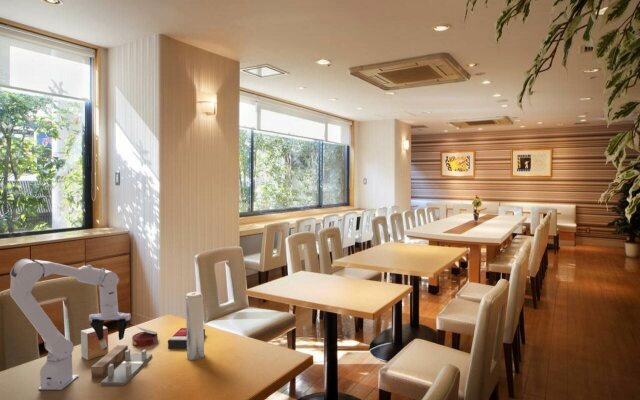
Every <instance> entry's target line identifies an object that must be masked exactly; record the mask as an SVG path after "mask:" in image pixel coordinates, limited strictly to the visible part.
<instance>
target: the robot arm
mask: <svg viewBox="0 0 640 400" xmlns="http://www.w3.org/2000/svg"><path fill="white" fill-rule="evenodd" d="M50 275H59V276H67V277H71V278H75V279H76V281H77V282H78V283H83V284H88V285H93V286H98V290H99V306H100V313H90V314H89V315H88V321H89V322H90V324H89V325H90V326H91V328H93V329H94V330H95V332H96V334H97V337H98V339H99V340H101V339H103V336H104V334H103V326H104V322H105V321H117V322H116V323H115V325H116V329H117V331H118V339H119V341H121V340H123V339H124V336H125V332H126V328H127V325H128V323H129V321H130V320H131V313H129V312H128V313H125V312H119V302H118V289H117V286H118V284H119V282H120V277H118V274H116V273H115V272H114V271H112V270H109V269H108V270H107V269H106V268H104V267H101V268H97V267H93V265H91V264H87V265H82V266H80V267H75V266H70V265H66V264H61V263H57V262H52V261H47V260H41V259H40V260H39V259H33V260H32V259H30V258H22V259H20V260H17V261H16V262H15V263H14V265H13V267H12V268H11V270H10V272H9V277H10V286H9V296H10V297H11V298H12V300H13V301H14V302H15V304H16V305H17V307H18V308H19V309H20V310H21V312H22V313H23V314H24V315H25V317H26V318H27V320H28V321H29V322H30V324H31V325H32V326H33V327H34V329H35V330H36V331H37V333H38V334H39V335H40V337H41V338H42V340H43V342H44V348H45V350H46V351H47V352H48V353H47V355H46V361H45V364H43V366H42V367H41V368H40V371H39V377H40V379H39V380H40V386H39V387H38V390H50V391H51V390H52V391H53V390H55V391H56V390H59V391H61V390H63V389H64V388H65V387H67V386H68V385H69V384H71V383H72V382H73V381H74V380H76V379H77V378H78V377H79V374H74V373H73V351H74V350H75V349H74V343H73V342H72V341H71V340H69V339H67V338H66V336H65V335H64V334H62V333H61V332H60V330H58V328H57V326H55V324H54V322H53V321H52V320H51V318H50V317H49V316H48V315H47V313H46V312H45V311H44V309H43V308H42V307H41V305H40V304H39V302H38V301H37V300H36V298H35V297H34V296H33V294H32V290H33V289H34V286H35V285H36V284H37V282H38V281H39V280H40V279H41V278H42V277H44V278H46V277H48V276H50Z"/></svg>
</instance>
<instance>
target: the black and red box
mask: <svg viewBox="0 0 640 400" xmlns="http://www.w3.org/2000/svg"><path fill="white" fill-rule="evenodd" d="M205 336H206V329H205V328H204V337H205ZM167 349H168V350H187V327H181V328H179V329H178V330H177V331H176V332H175V333H174V334H173V336H171V337H170V338H169V339H168V340H167Z"/></svg>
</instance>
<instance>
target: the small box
mask: <svg viewBox="0 0 640 400" xmlns="http://www.w3.org/2000/svg"><path fill="white" fill-rule="evenodd" d="M103 334H104V336H103V339H101V340H99V339H98V337H97V334H96V332H95V330H94V329H93V327H91V328H90V327H89V328H87V329H82V330H80V348H81V349H80V351H81V353H80V354H81V357H82V358H83V359H84V360H87V361H90V360H92V359H96V358H98V357H101V356H105V355H106V354H107V353H109V330H108V327H107V326H105V325H103Z"/></svg>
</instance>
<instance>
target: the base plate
mask: <svg viewBox="0 0 640 400" xmlns="http://www.w3.org/2000/svg"><path fill="white" fill-rule="evenodd" d="M152 357H153V354H152V353H147V349H142V351H141V352H140V353H131V349H128V350H126V351H125V358H124V360H122V361H121V362H120V363H119V364H118V365H117V366H116V367H115V368H114V364H110V365H109V366H108V374H107V375H106V376H105V377H104V379H102V381H100V386H125V385H126V384H127V383H128V382H130V380H131V379H132V378H133V377H134V376H135V375H136V374H137V373H138V372H139V371H140V370H141V369H142V368H143V367H144V366H145V365H146V364H147V363H148V362H149V360H150V359H151V358H152Z"/></svg>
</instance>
